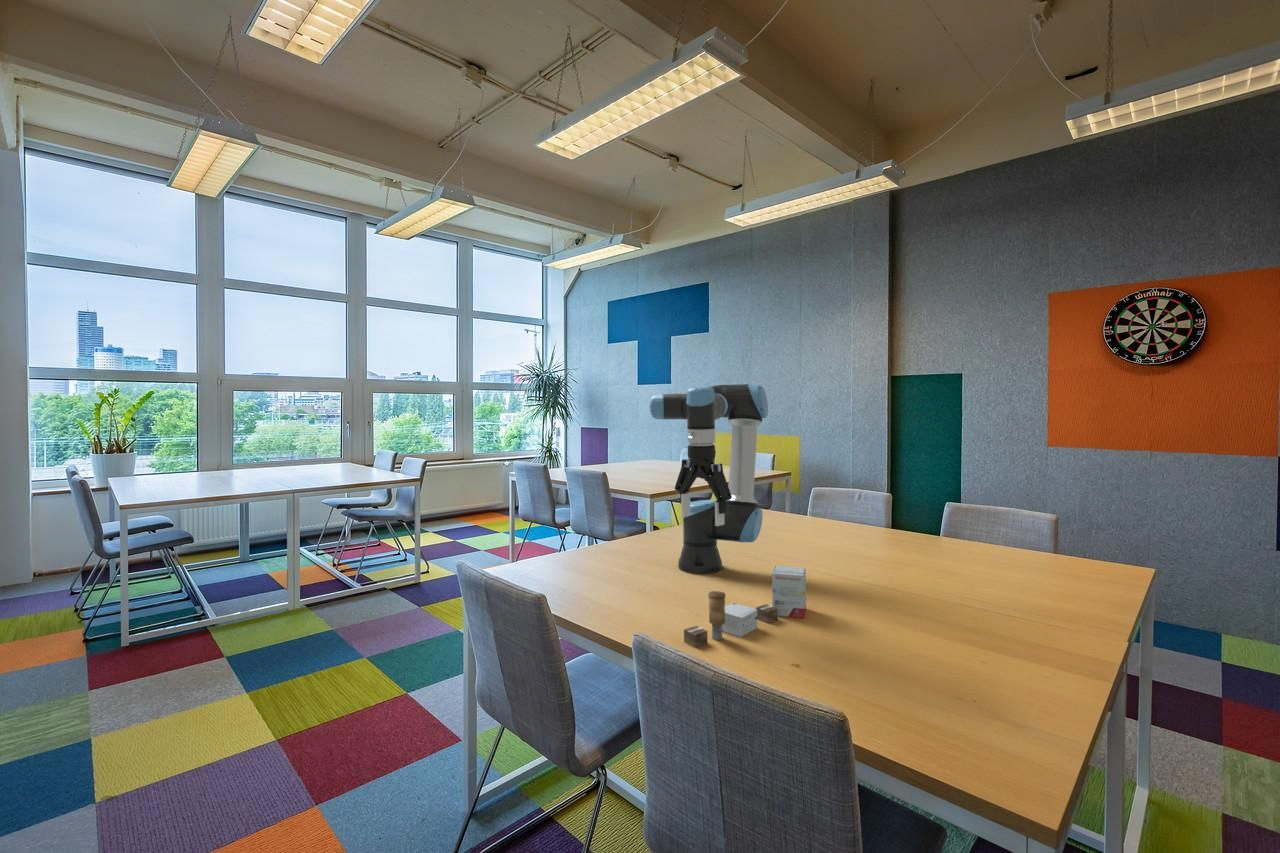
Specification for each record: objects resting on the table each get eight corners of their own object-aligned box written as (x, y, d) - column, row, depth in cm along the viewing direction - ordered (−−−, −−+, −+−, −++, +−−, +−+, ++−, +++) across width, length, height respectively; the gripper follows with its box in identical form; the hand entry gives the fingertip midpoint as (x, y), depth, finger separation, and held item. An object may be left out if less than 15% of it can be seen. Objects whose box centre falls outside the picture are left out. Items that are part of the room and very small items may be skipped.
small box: (741, 638, 143) (741, 617, 142) (715, 629, 148) (715, 609, 148) (758, 628, 148) (758, 608, 148) (732, 620, 154) (732, 601, 153)
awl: (717, 633, 145) (717, 589, 145) (729, 638, 142) (729, 594, 141) (705, 637, 143) (704, 593, 142) (716, 643, 139) (716, 598, 139)
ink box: (806, 608, 162) (806, 566, 162) (804, 619, 154) (804, 575, 153) (774, 604, 165) (775, 563, 164) (771, 615, 157) (771, 572, 156)
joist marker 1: (696, 637, 143) (696, 625, 142) (707, 643, 139) (707, 630, 139) (683, 641, 140) (683, 628, 140) (694, 647, 137) (694, 634, 137)
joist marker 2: (766, 615, 157) (766, 603, 157) (777, 619, 154) (777, 607, 154) (755, 618, 155) (755, 606, 155) (767, 623, 151) (767, 611, 151)
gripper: (661, 441, 166) (663, 514, 168) (724, 449, 146) (725, 531, 148) (681, 439, 170) (682, 510, 172) (744, 446, 150) (745, 526, 152)
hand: (702, 520), depth 160 cm, fingers open, 13 cm apart
